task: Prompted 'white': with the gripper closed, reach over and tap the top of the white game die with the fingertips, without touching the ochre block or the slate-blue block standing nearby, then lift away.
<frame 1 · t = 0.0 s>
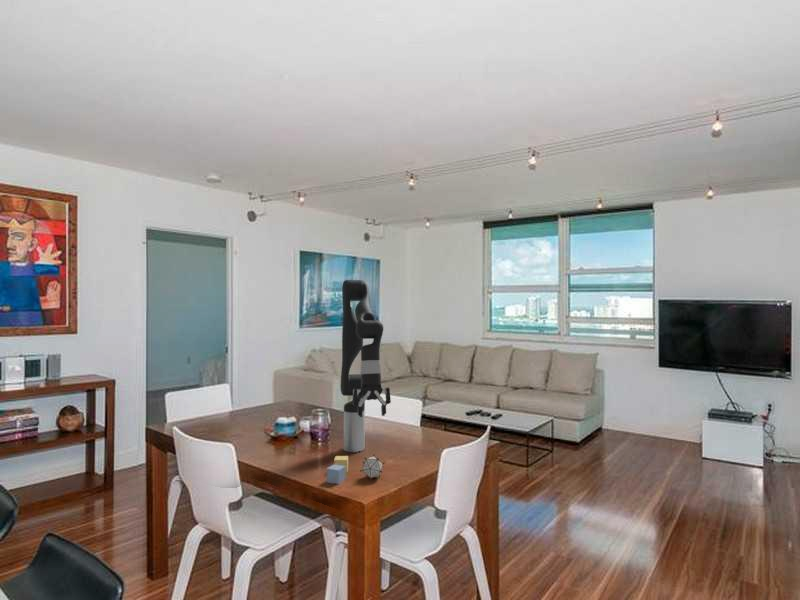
hand: (372, 416, 185), 22 cm above the table, tool pointing down, fingers open, 8 cm apart
slate block: (336, 481, 180), on the table
ochre block: (341, 470, 191), on the table
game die: (372, 478, 183), on the table
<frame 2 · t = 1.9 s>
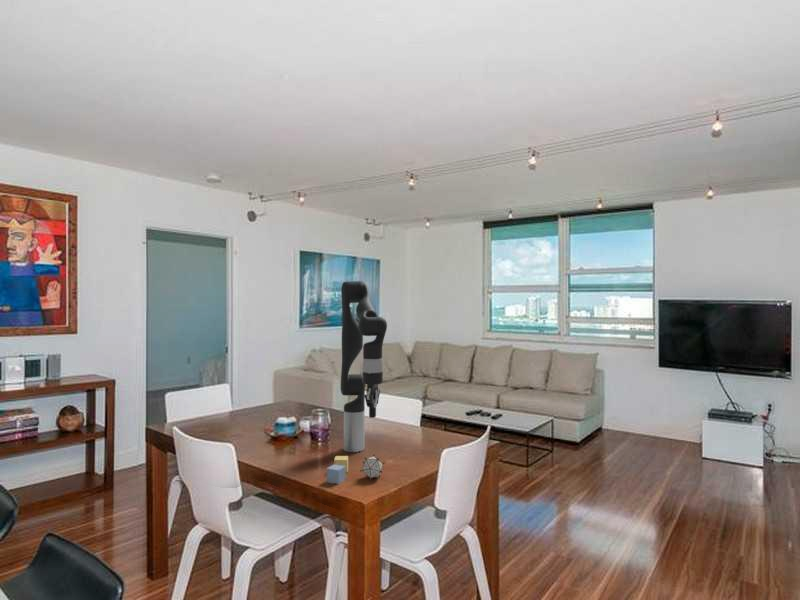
hand: (372, 417, 183), 22 cm above the table, tool pointing down, fingers closed
nothing on the table moved.
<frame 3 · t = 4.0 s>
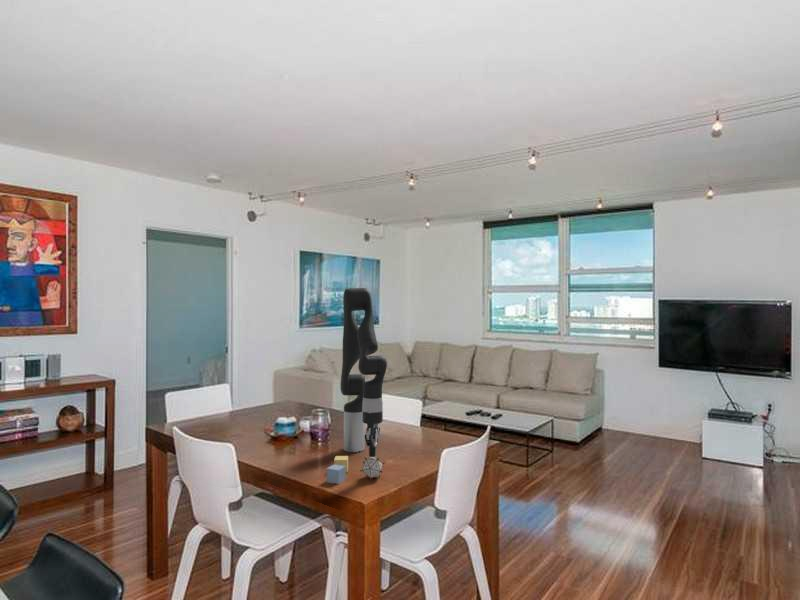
hand: (372, 456, 183), 8 cm above the table, tool pointing down, fingers closed
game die: (372, 478, 183), on the table, touching gripper
everything else where it was.
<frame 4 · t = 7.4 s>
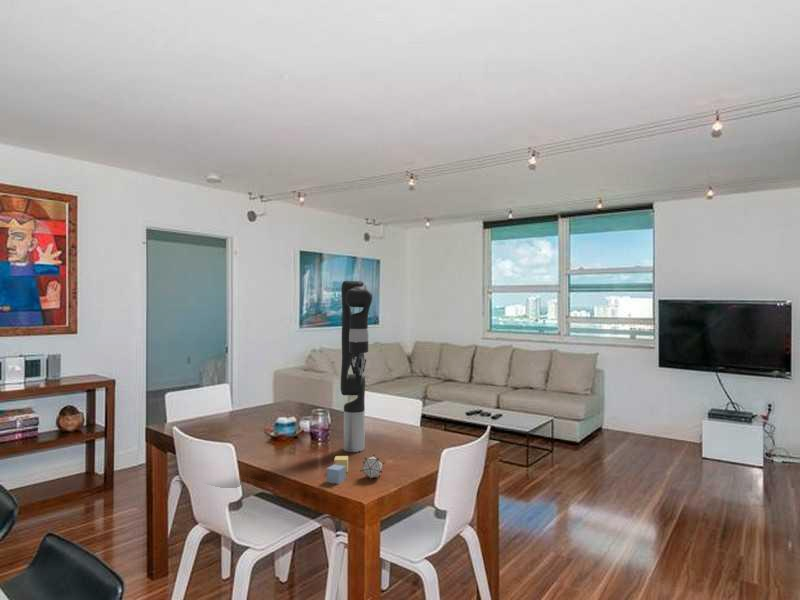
hand: (358, 384, 193), 33 cm above the table, tool pointing down, fingers closed
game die: (372, 478, 183), on the table
everything else where it was.
at the end: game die moved 0.2 cm from its start; ochre block moved 0.1 cm from its start; slate block moved 0.1 cm from its start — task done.
